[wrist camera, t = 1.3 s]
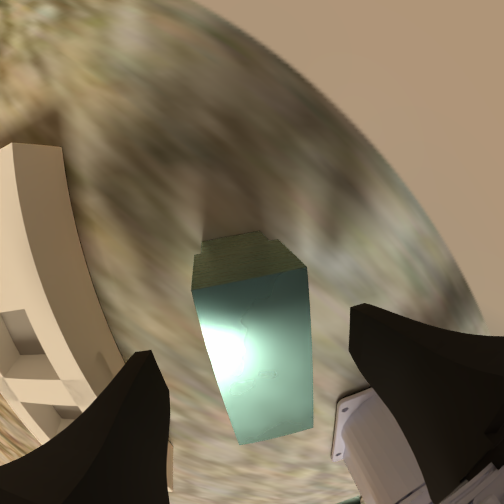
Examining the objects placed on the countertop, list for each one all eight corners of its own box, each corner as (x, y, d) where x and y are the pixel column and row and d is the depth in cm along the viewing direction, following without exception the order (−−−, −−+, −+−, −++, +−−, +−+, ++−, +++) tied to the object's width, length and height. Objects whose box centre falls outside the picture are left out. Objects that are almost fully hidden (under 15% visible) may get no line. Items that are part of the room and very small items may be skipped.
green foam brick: (280, 352, 14) (313, 427, 9) (226, 363, 14) (239, 445, 9) (263, 225, 12) (307, 267, 7) (196, 238, 12) (191, 290, 7)
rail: (173, 447, 16) (173, 491, 12) (93, 447, 15) (84, 485, 11) (61, 146, 10) (11, 142, 6) (-26, 190, 9) (-73, 201, 5)
